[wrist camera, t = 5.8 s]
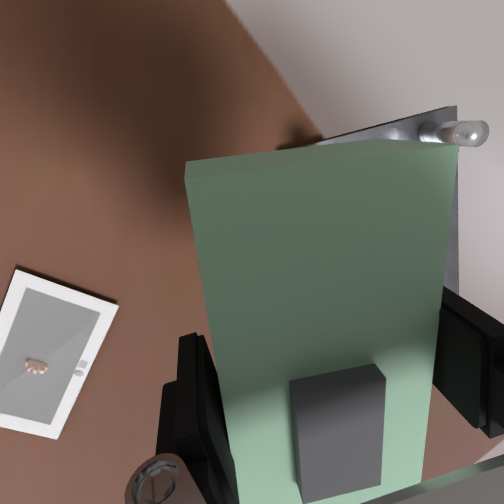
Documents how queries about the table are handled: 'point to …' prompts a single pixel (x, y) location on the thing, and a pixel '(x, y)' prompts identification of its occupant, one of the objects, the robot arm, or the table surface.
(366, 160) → the green block
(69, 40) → the table surface
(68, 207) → the table surface
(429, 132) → the chassis
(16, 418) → the touchpad
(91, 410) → the table surface
